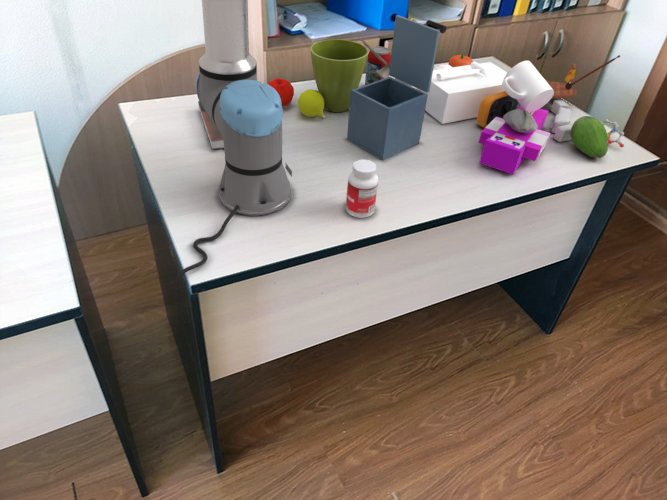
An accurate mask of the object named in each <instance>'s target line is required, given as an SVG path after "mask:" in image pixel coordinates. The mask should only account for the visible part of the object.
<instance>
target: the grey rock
mask: <svg viewBox="0 0 667 500" xmlns="http://www.w3.org/2000/svg"><path fill="white" fill-rule="evenodd" d="M503 118H504V120H505V122H506V123H507V124H509V125H510V126H511V128H512V129H514V130H515V131H518V132H522V133H528V132H532V131H534V130H536V129H537V128H538V125H537V124H536V122H535V120H534V118H533V117H532V113H531V114H530V113H529V112H528V111H526V110H523V109H516V110H512V111H510V112H508V113H506V114H505V115H504V116H503Z"/></svg>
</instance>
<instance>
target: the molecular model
mask: <svg viewBox="0 0 667 500" xmlns="http://www.w3.org/2000/svg"><path fill="white" fill-rule="evenodd" d="M606 124H611V125H612V127H613V128H612V129H610V131H609V132H606V133H607V141H608V145H611V144H612V143H616V144H618V146H619V147H620V148H623V147H625V144H624V143H622V142H621V138H622V136H624V135H625V132H624V131H619V130H618V128H619V127H620V125H619V124H618V122H617V121H610V120H609V119H607V118H605V119H604V120H603V125H604V126H606ZM615 133H618V134H619V136H618V138H616V139H615V140H611V139H610V138H611V136H612V134H615Z"/></svg>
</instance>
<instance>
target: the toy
mask: <svg viewBox="0 0 667 500" xmlns="http://www.w3.org/2000/svg"><path fill="white" fill-rule="evenodd" d="M518 109H523V110H524V108H523V107H522V106H520V107H519V108H518ZM549 113H550V112H549V110H547V109H543V108H540V109H538V110H537V111H534V112H531V113H530V114H531V115H532V117H533V118H534V120H535V122H536V124H537V125H538V128H537V129H536V130H534V131H532V132H528V133H522V132H518V131H515V130H514V129H512V128H511V126H510V125H509V124H507V123H506V122H505V120H504V119H502V118H499V117H495V118H494V119H493V120H492V121H491V122H490V123H489V124H488V125H487V127H486V128H483V130H482V131H481V132H480V136H479V139H478V144H481V145H483V149H482V152H481V155H480V159H479V162H478V163H479V164H482V165H484V166H487V167H490V168H493V169H496V170H498V171H501V172H505V173H508V174H510V175H514V174H515V172H517V170H518V168H519V167H520V165H521V164H522V163H523V162H524V160H525V159H526V160H529V161H532V162H536V161H537V159H538V158H539V157H540V155H541V153H542V152H543V151H544V149H545V148H546V147H547V144H548V142H549V139H550V137H551V134H552V132H551V133H550V132H547V131H545V130H542V129H543V128H544V125H545V122H546V120H547V117H548V115H549Z"/></svg>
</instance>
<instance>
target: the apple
mask: <svg viewBox="0 0 667 500" xmlns="http://www.w3.org/2000/svg"><path fill="white" fill-rule="evenodd" d="M267 84H268V85H270V86H271V87H273V88H274V89H275V90H276V91H277V93H278V94H279V96H280V98H281V104H282V108H285V107H287V106H288V105H289V104H290V103H291V102H292V101H293V98H294V96H295V88H294V86H293V85H292V83H291V82H290V81H289V80H288V79H284V78H274V79H272V80H269V82H268V83H267Z"/></svg>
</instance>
